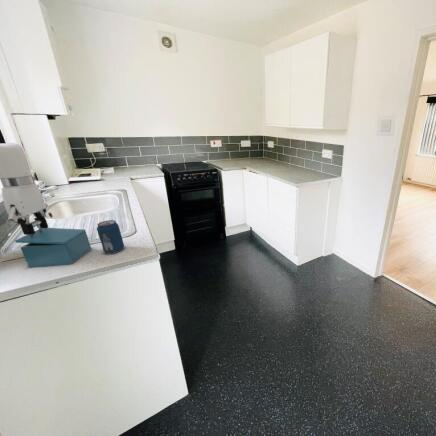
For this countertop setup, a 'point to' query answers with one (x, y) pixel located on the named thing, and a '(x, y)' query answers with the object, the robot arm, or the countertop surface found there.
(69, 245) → the box
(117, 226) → the soda can
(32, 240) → the freezer lid
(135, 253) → the countertop surface
